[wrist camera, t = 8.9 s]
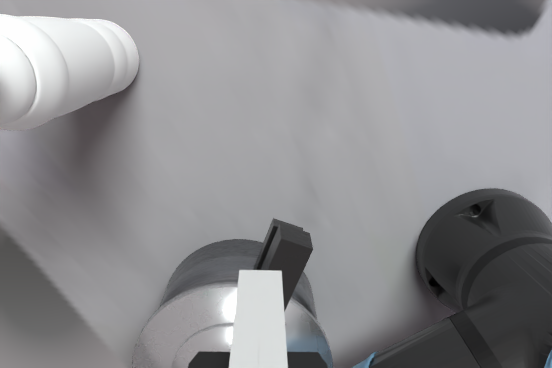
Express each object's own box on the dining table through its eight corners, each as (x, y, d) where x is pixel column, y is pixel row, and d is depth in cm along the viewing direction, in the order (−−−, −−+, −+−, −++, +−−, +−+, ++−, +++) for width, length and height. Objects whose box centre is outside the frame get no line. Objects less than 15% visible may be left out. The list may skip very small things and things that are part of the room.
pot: (279, 392, 58) (281, 462, 49) (142, 354, 56) (117, 420, 47) (360, 220, 50) (382, 264, 41) (204, 166, 48) (189, 200, 38)
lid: (282, 472, 49) (283, 509, 45) (108, 427, 46) (94, 462, 43) (393, 259, 40) (406, 283, 37) (188, 189, 38) (179, 207, 34)
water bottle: (151, 40, 43) (16, 55, 20) (126, 104, 46) (-25, 187, 22) (82, 5, 42) (-149, -23, 19) (59, 72, 44) (-176, 123, 21)
